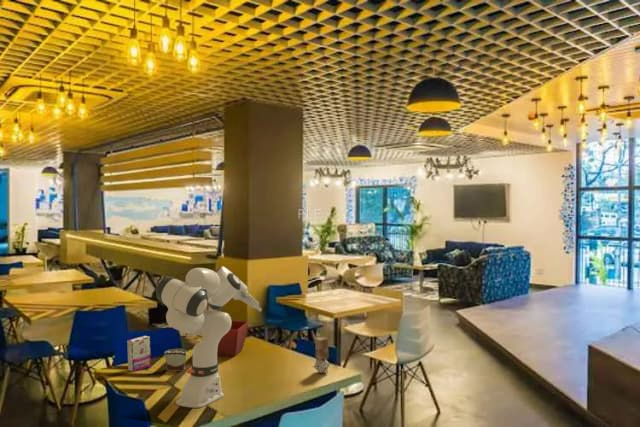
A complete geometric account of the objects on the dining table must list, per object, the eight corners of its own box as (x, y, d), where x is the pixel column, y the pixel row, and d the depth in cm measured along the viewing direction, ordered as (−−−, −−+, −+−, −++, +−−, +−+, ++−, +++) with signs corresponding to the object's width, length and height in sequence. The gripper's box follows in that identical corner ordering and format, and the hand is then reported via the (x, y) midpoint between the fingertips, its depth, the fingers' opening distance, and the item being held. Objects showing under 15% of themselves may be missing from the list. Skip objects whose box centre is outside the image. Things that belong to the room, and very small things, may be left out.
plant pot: (237, 358, 287) (237, 329, 287) (206, 357, 291) (205, 328, 290) (249, 349, 306) (248, 321, 305) (219, 347, 310) (219, 320, 309)
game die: (325, 380, 261) (330, 368, 255) (309, 375, 261) (315, 362, 256) (328, 367, 268) (333, 355, 263) (313, 361, 269) (318, 349, 263)
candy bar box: (145, 364, 278) (145, 335, 278) (151, 366, 275) (150, 336, 275) (127, 370, 269) (126, 339, 269) (132, 372, 266) (132, 341, 266)
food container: (190, 367, 274) (190, 348, 273) (186, 370, 267) (186, 352, 267) (168, 366, 275) (168, 348, 274) (164, 370, 269) (164, 351, 268)
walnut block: (319, 359, 259) (319, 340, 258) (315, 357, 263) (315, 337, 263) (328, 358, 261) (328, 339, 260) (324, 355, 265) (324, 336, 265)
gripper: (249, 289, 245) (268, 307, 250) (237, 283, 264) (256, 300, 268) (240, 299, 243) (260, 317, 248) (229, 292, 262) (248, 309, 266)
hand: (258, 308), depth 258 cm, fingers open, 8 cm apart
